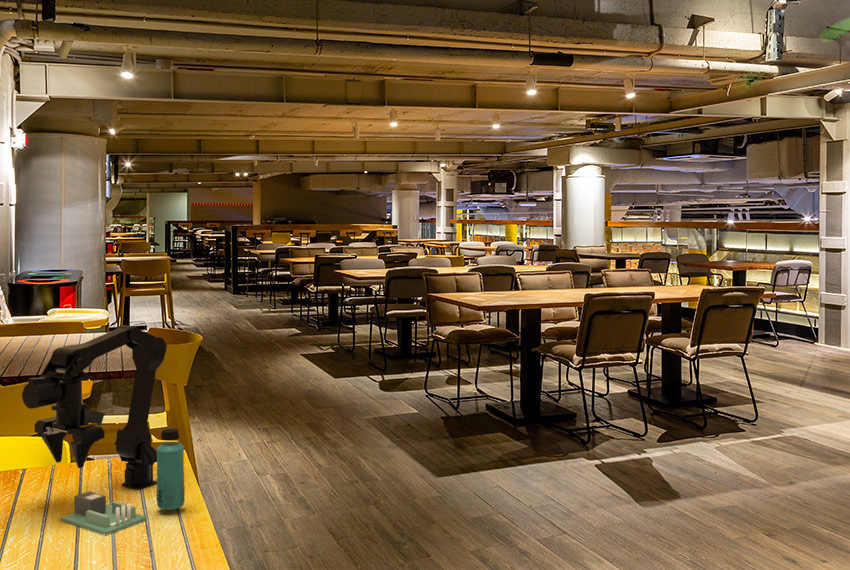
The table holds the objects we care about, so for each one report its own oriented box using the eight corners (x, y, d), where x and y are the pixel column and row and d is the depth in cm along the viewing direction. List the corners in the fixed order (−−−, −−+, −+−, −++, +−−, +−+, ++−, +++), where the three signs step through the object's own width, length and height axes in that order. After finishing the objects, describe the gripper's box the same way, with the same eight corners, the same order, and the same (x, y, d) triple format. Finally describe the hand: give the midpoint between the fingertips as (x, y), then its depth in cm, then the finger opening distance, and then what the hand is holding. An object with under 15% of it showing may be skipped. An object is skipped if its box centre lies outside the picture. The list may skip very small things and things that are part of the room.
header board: (60, 520, 177) (60, 500, 177) (101, 506, 187) (101, 487, 186) (105, 535, 169) (105, 514, 169) (146, 520, 179) (146, 499, 178)
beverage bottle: (190, 509, 186) (190, 428, 185) (170, 518, 180) (170, 434, 179) (170, 504, 189) (170, 424, 188) (150, 513, 183) (149, 430, 182)
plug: (74, 512, 180) (74, 495, 180) (89, 507, 184) (89, 490, 184) (90, 517, 177) (90, 500, 177) (105, 512, 181) (105, 495, 180)
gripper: (123, 399, 185) (124, 463, 186) (74, 390, 194) (74, 451, 195) (82, 408, 175) (83, 475, 176) (32, 397, 185) (33, 461, 186)
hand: (69, 465), depth 184 cm, fingers open, 8 cm apart
